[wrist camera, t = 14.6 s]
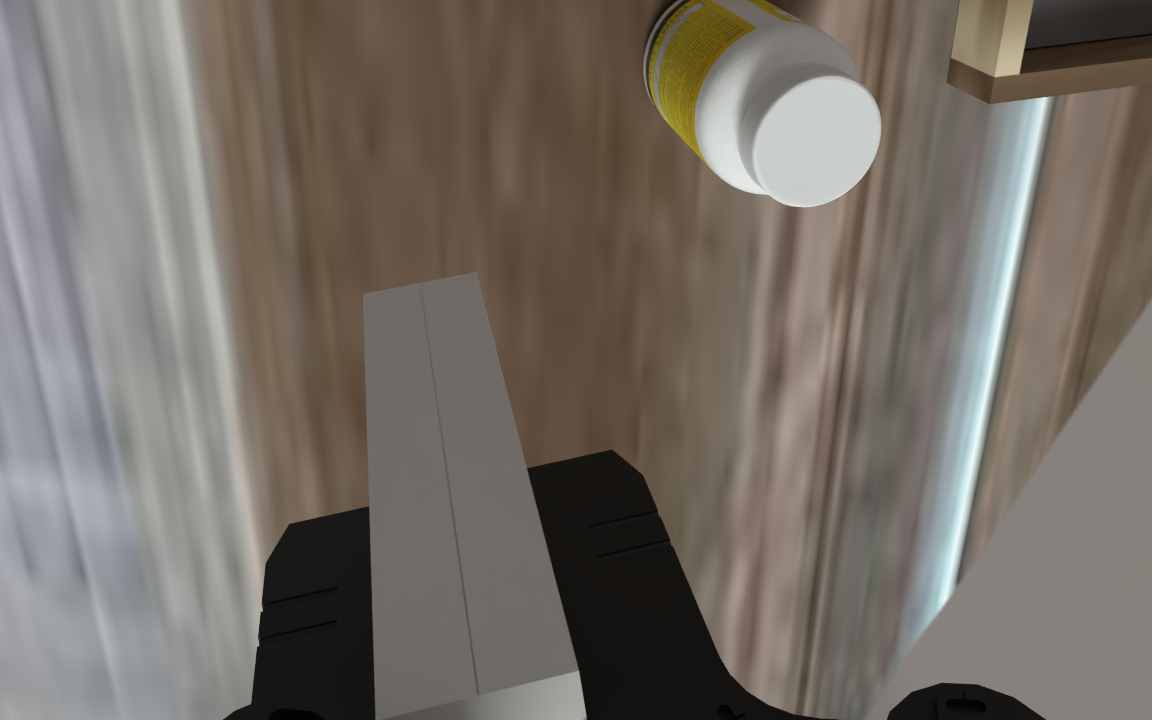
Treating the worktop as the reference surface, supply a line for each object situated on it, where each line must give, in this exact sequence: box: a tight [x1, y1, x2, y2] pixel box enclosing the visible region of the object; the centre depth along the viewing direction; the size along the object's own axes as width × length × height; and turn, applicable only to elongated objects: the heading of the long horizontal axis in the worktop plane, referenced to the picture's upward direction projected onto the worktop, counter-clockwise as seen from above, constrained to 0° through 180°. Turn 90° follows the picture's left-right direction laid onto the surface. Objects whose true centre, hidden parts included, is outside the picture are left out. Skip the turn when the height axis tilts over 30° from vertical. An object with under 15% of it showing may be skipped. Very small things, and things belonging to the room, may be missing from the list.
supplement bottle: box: [643, 0, 881, 207], centre depth 31 cm, size 5×5×10 cm
